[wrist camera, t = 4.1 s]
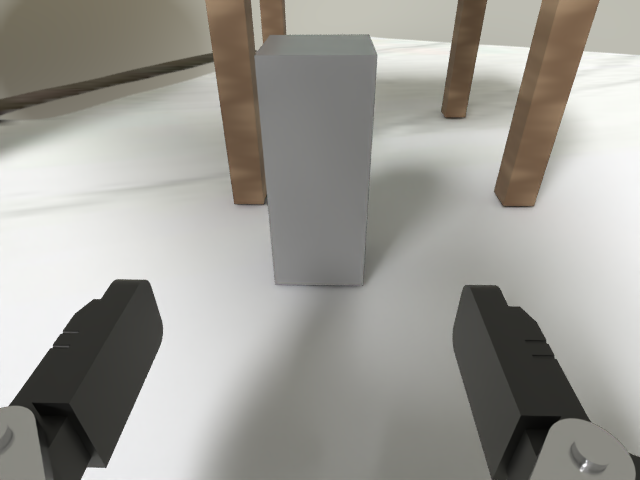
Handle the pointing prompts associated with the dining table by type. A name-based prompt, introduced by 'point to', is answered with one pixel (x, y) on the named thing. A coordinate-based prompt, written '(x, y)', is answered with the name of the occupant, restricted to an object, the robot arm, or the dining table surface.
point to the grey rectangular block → (317, 153)
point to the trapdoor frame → (530, 111)
